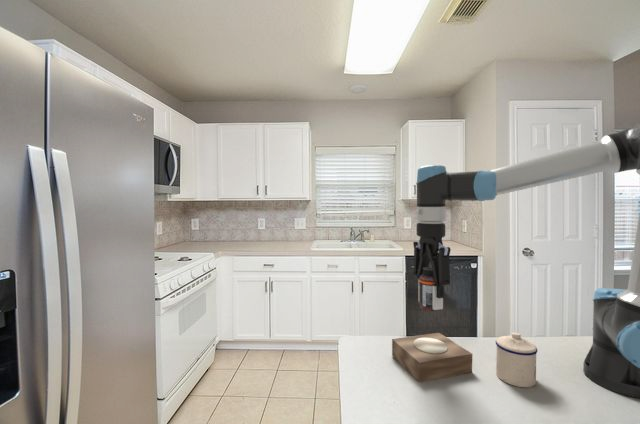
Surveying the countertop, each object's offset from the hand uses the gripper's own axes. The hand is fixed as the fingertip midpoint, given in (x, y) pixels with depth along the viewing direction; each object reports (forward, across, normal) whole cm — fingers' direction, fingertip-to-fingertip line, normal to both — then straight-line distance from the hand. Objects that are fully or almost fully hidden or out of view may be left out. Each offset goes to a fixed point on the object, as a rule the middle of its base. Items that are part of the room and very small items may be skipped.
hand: (430, 304), depth 88 cm
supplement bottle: (+1, 0, 0) cm, 1 cm away
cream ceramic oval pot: (+17, +11, +17) cm, 26 cm away
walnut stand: (+17, 0, 0) cm, 17 cm away
